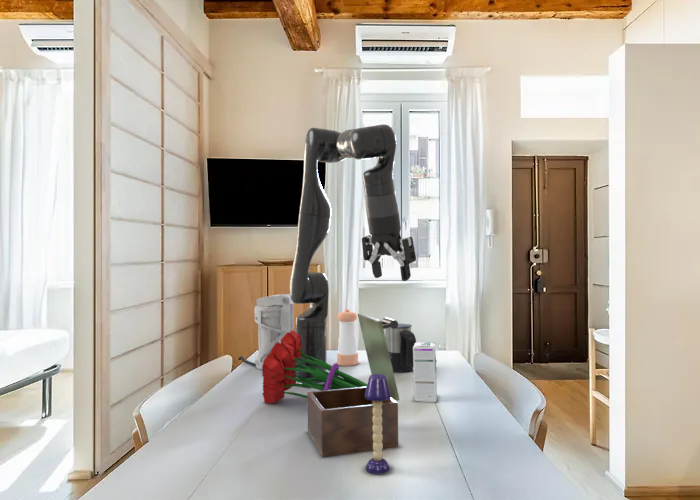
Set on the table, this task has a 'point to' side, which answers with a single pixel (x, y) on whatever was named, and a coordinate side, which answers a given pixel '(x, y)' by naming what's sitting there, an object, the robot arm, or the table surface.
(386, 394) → the toy lamp
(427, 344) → the syrup box
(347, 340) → the pepper shaker
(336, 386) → the bouquet
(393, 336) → the milk frother
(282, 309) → the lantern
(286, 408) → the table surface
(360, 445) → the crate
